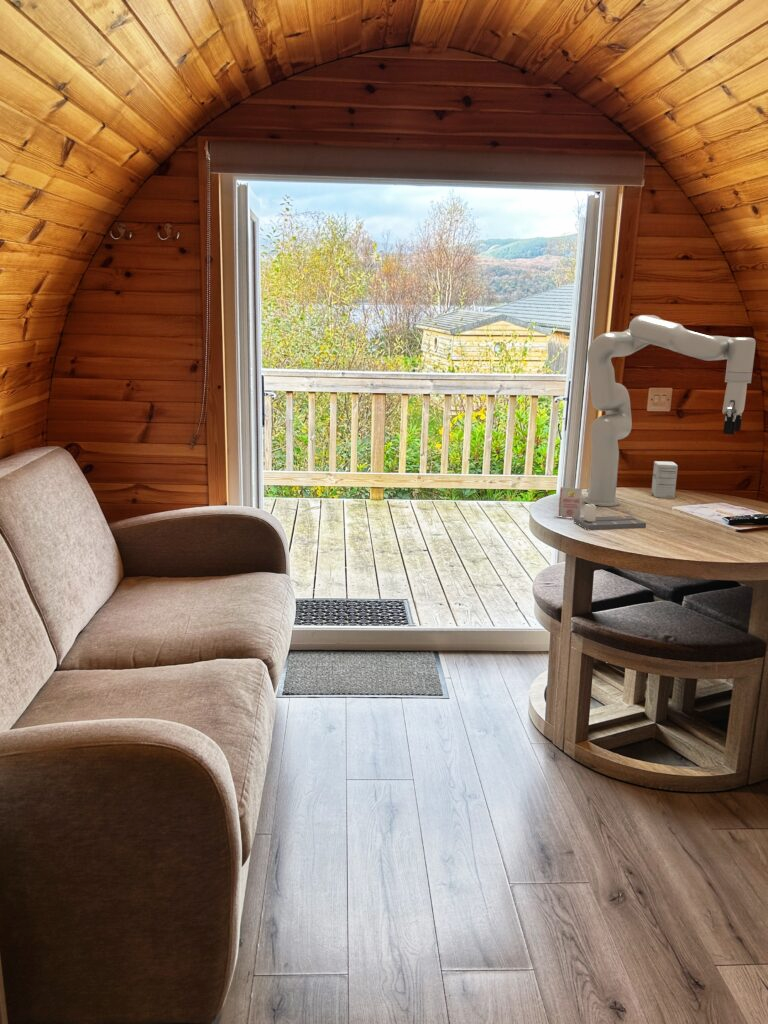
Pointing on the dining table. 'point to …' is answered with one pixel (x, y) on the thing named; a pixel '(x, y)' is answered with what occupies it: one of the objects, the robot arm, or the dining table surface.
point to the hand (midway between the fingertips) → (731, 432)
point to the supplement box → (664, 479)
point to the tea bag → (570, 502)
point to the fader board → (611, 522)
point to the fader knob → (590, 512)
